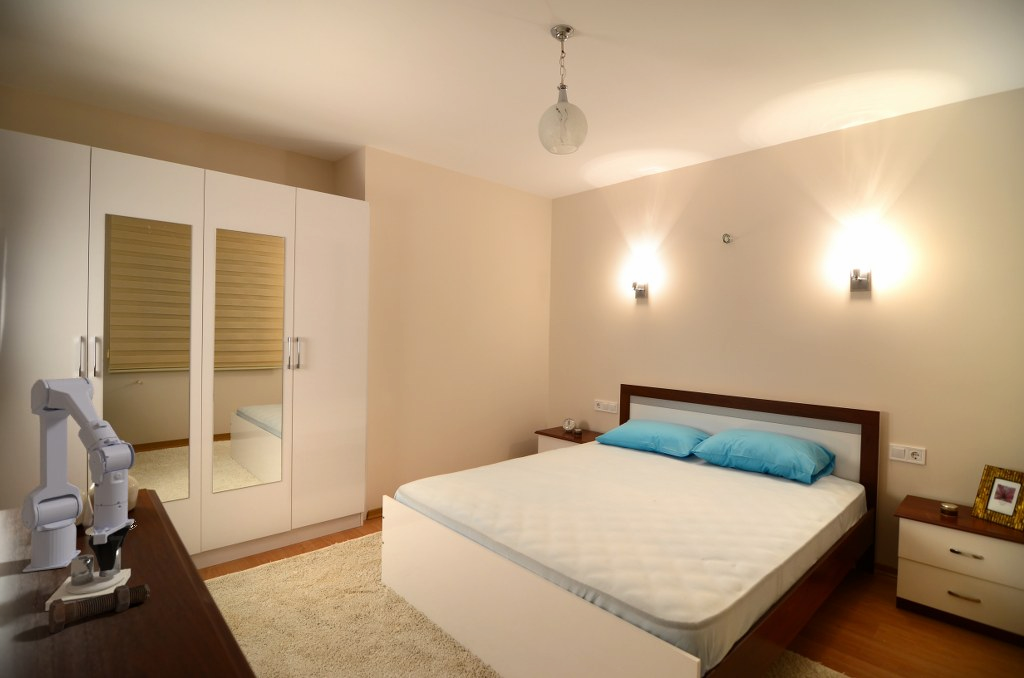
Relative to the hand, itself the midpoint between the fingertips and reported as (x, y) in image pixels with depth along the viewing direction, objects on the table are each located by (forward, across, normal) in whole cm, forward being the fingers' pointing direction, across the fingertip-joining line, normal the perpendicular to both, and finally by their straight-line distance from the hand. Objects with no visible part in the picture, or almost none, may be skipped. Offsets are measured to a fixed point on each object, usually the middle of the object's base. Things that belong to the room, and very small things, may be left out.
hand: (110, 565), depth 110 cm
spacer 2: (+2, 0, 0) cm, 2 cm away
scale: (+5, 0, +3) cm, 6 cm away
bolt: (+5, -12, -2) cm, 13 cm away
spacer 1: (+3, 0, +5) cm, 5 cm away
